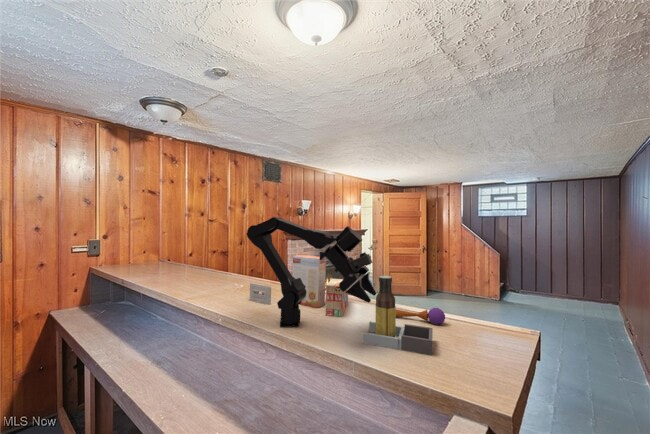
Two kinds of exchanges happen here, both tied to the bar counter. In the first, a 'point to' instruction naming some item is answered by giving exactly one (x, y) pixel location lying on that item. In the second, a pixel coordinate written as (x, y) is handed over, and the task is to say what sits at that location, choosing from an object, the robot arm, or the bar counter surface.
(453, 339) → the bar counter surface
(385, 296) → the sauce bottle
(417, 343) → the grey compartment tray
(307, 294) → the cracker box
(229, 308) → the bar counter surface
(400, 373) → the bar counter surface
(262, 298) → the cassette
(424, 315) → the kendama
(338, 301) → the printed food box
